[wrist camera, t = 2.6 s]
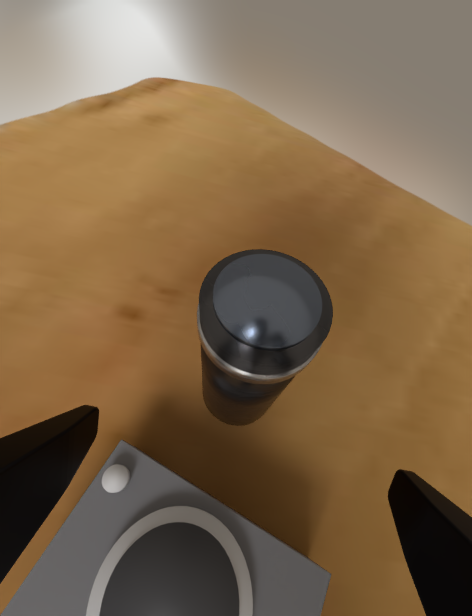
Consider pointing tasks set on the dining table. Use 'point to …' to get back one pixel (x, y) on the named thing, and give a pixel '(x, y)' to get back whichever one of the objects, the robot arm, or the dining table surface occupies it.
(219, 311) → the dark grey cylinder
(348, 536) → the dining table surface
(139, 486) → the grey rectangular block
